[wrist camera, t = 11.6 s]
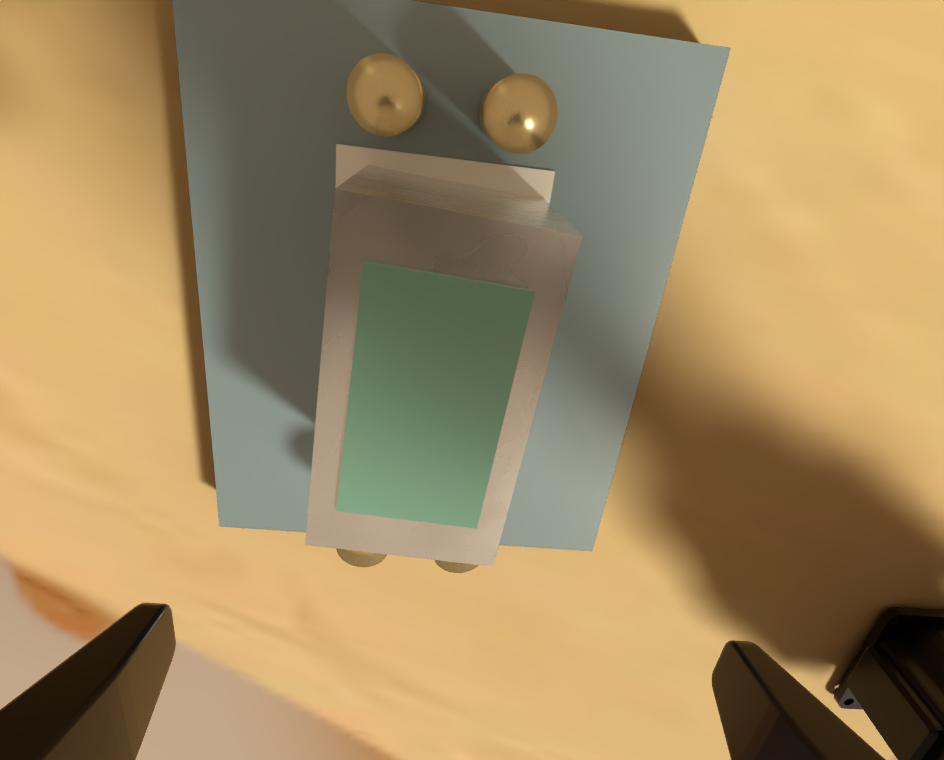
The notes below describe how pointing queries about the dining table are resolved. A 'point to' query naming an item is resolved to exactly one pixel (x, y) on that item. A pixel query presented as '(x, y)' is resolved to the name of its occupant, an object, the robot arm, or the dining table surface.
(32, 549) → the dining table surface
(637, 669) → the dining table surface
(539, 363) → the block
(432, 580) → the dining table surface
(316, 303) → the pin tray
